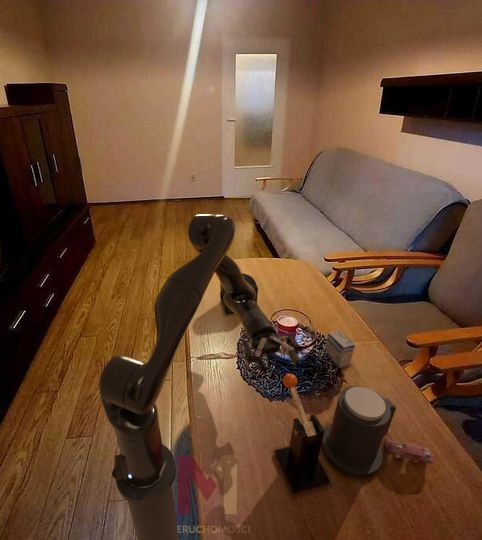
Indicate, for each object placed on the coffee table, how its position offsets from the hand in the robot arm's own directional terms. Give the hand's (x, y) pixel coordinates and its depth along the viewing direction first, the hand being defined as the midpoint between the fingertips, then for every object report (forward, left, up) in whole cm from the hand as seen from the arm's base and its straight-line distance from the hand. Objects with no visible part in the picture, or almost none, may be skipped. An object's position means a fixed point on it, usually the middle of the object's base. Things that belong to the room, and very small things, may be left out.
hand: (281, 367), depth 86 cm
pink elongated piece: (+26, -19, -19) cm, 37 cm away
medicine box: (+28, +15, -19) cm, 37 cm away
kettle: (+14, -14, -19) cm, 27 cm away
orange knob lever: (0, -9, -4) cm, 10 cm away
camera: (+6, +52, -19) cm, 56 cm away
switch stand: (0, -15, -19) cm, 24 cm away
